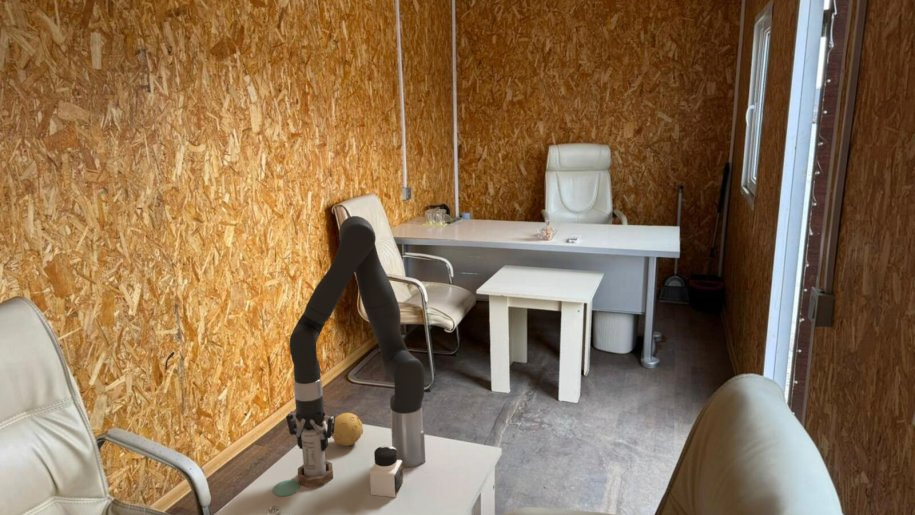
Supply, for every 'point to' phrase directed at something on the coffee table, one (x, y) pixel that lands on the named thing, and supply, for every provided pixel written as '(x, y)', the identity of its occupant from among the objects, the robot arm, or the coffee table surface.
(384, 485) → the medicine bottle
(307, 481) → the collar
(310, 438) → the energy drink can
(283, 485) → the coaster
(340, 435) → the stress ball
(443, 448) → the coffee table surface
